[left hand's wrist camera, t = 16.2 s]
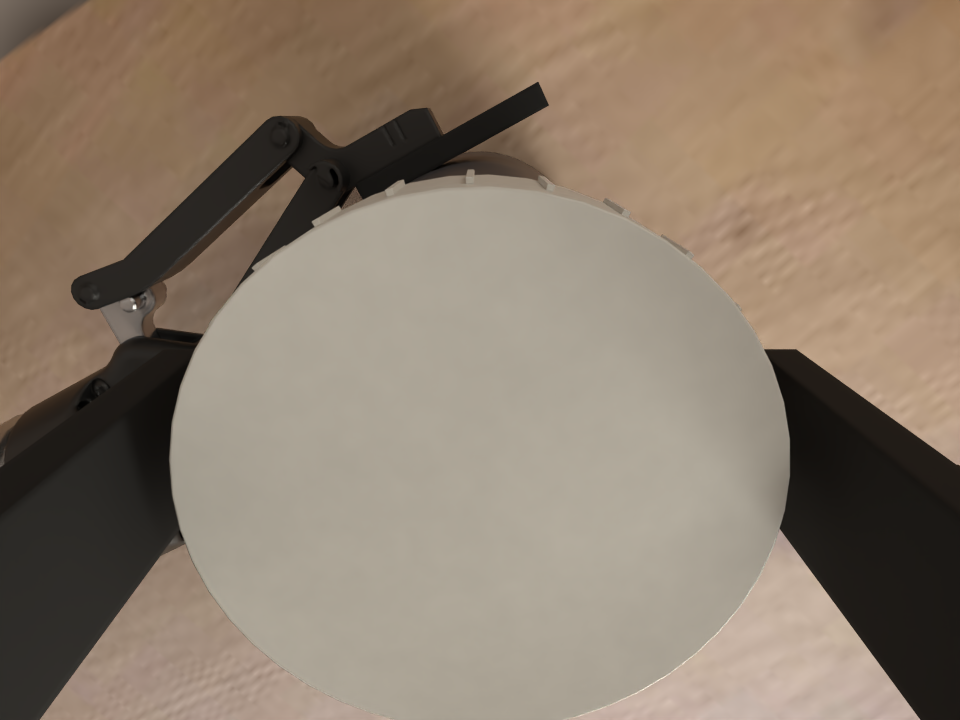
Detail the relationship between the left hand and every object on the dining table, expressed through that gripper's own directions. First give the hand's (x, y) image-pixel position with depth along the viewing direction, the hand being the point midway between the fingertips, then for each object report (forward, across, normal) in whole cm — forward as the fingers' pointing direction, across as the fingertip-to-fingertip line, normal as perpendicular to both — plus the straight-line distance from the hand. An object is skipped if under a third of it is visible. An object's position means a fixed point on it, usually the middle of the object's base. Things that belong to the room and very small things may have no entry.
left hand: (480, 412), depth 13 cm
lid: (-3, 0, 0) cm, 3 cm away
